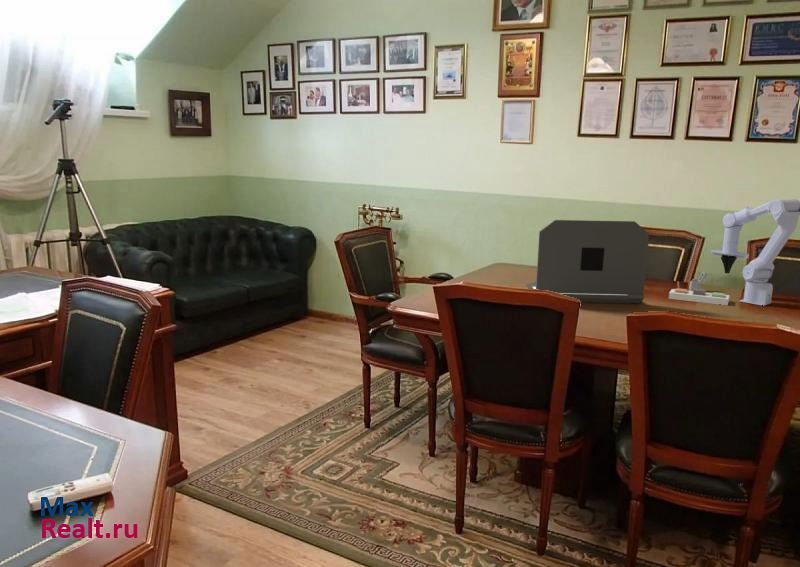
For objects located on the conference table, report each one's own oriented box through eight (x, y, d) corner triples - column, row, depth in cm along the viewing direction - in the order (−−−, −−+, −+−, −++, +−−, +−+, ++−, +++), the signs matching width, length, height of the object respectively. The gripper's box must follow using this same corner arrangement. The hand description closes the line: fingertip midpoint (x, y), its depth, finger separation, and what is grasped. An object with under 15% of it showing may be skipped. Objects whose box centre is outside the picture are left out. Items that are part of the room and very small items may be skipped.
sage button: (723, 300, 253) (724, 293, 253) (722, 302, 250) (723, 295, 249) (712, 299, 255) (712, 292, 255) (711, 301, 252) (712, 294, 251)
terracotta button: (686, 296, 260) (687, 289, 260) (685, 298, 257) (686, 291, 256) (675, 295, 262) (676, 288, 262) (674, 296, 259) (675, 289, 258)
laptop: (619, 288, 277) (626, 214, 271) (643, 305, 247) (651, 221, 240) (523, 286, 279) (527, 212, 273) (535, 302, 249) (540, 220, 242)
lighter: (691, 291, 273) (693, 273, 271) (688, 290, 274) (690, 272, 273) (705, 290, 274) (707, 273, 272) (702, 289, 276) (704, 272, 274)
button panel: (728, 301, 255) (729, 295, 254) (727, 305, 247) (728, 299, 246) (671, 294, 265) (672, 288, 265) (668, 298, 258) (669, 292, 257)
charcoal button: (704, 296, 257) (705, 289, 256) (704, 298, 253) (704, 291, 253) (693, 295, 259) (694, 288, 258) (692, 297, 255) (693, 290, 255)
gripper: (709, 240, 265) (706, 271, 267) (747, 244, 255) (742, 276, 258) (715, 239, 270) (711, 269, 272) (751, 242, 260) (747, 274, 263)
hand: (727, 273), depth 265 cm, fingers closed
